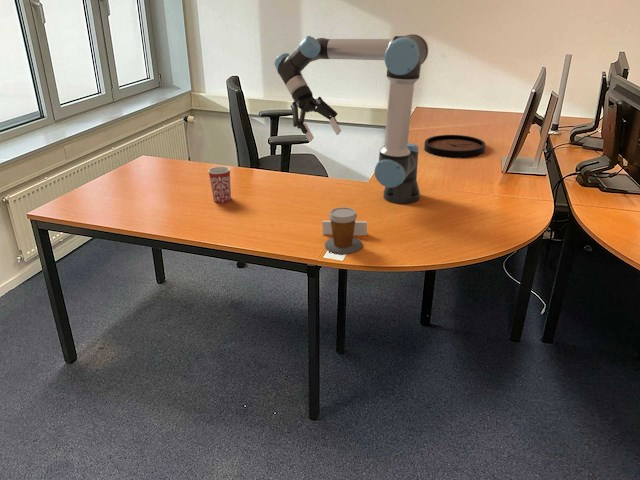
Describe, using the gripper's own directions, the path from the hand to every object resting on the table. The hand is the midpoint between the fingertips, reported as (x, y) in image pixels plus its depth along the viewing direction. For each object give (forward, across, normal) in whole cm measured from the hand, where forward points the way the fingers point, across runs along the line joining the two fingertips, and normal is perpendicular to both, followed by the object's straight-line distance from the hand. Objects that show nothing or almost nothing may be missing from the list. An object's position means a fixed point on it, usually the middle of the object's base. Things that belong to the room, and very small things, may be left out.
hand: (325, 136), depth 200 cm
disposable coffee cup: (+41, +17, -1) cm, 44 cm away
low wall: (+37, +11, -5) cm, 39 cm away
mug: (-7, +25, -49) cm, 55 cm away
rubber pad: (+41, +17, -1) cm, 45 cm away
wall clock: (+10, -103, -32) cm, 108 cm away
